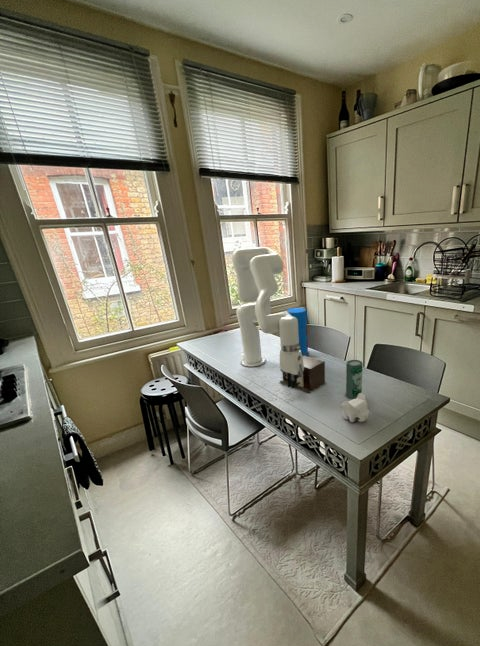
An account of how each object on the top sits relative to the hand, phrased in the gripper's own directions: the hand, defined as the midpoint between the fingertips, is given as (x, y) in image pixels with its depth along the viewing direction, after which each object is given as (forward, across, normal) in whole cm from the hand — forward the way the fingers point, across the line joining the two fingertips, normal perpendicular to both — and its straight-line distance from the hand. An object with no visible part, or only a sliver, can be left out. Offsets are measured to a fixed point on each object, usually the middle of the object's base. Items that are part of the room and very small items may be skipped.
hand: (292, 386), depth 137 cm
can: (+3, -22, -14) cm, 27 cm away
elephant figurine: (+3, -32, +2) cm, 33 cm away
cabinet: (+3, +2, -11) cm, 11 cm away
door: (+2, +2, -2) cm, 4 cm away
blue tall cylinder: (+3, +28, -38) cm, 47 cm away
